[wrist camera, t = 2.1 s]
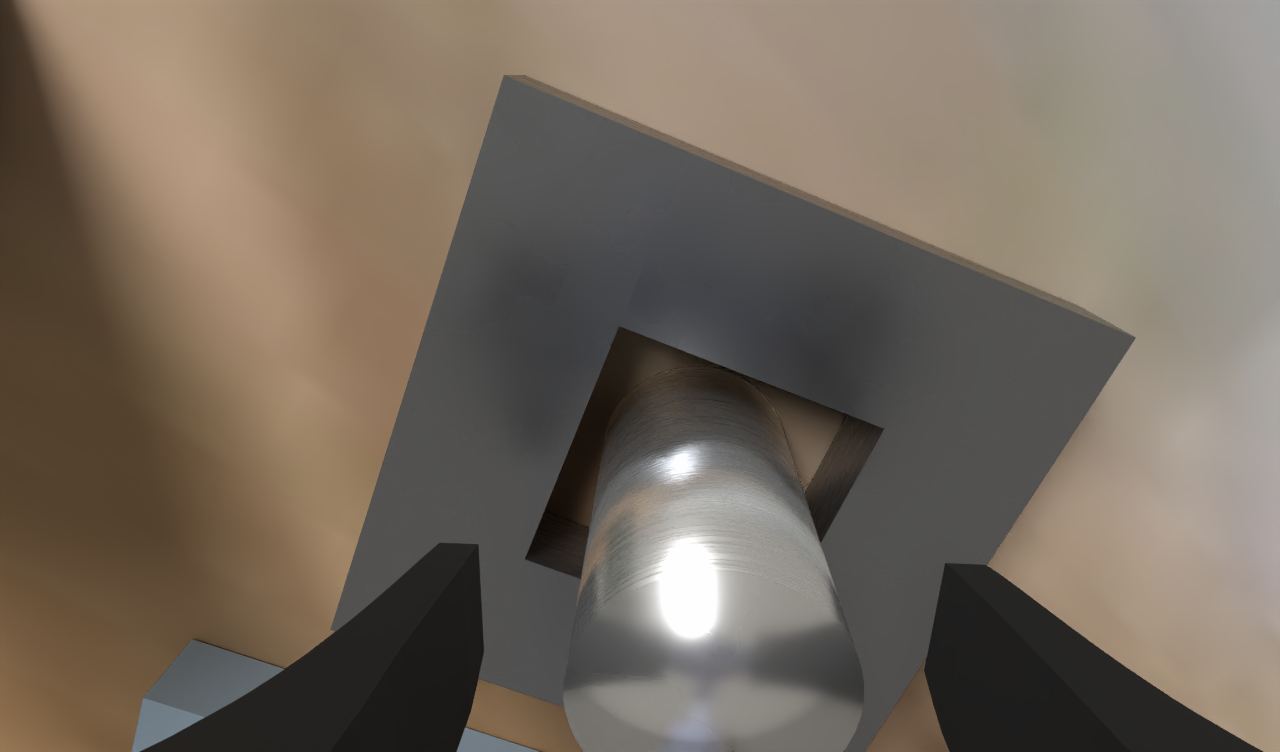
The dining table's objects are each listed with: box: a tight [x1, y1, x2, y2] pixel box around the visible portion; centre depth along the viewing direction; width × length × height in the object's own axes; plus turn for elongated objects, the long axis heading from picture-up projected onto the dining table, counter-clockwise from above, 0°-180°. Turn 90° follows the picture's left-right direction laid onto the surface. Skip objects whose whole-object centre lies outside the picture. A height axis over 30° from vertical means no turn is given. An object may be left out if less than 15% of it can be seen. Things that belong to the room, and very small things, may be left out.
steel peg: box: [563, 366, 864, 752], centre depth 14 cm, size 4×4×8 cm
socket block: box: [331, 75, 1136, 752], centre depth 17 cm, size 12×12×2 cm
